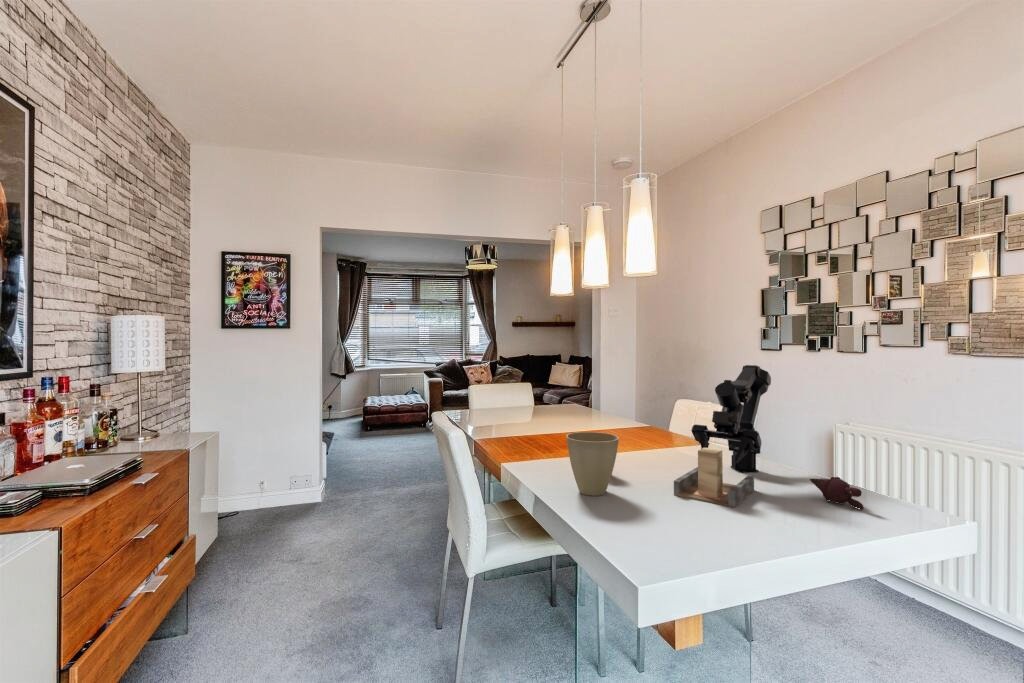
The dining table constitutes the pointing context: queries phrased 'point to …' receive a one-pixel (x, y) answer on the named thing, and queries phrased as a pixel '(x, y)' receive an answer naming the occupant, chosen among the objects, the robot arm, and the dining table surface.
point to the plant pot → (592, 460)
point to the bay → (729, 497)
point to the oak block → (710, 472)
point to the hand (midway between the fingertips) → (719, 460)
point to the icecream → (838, 491)
